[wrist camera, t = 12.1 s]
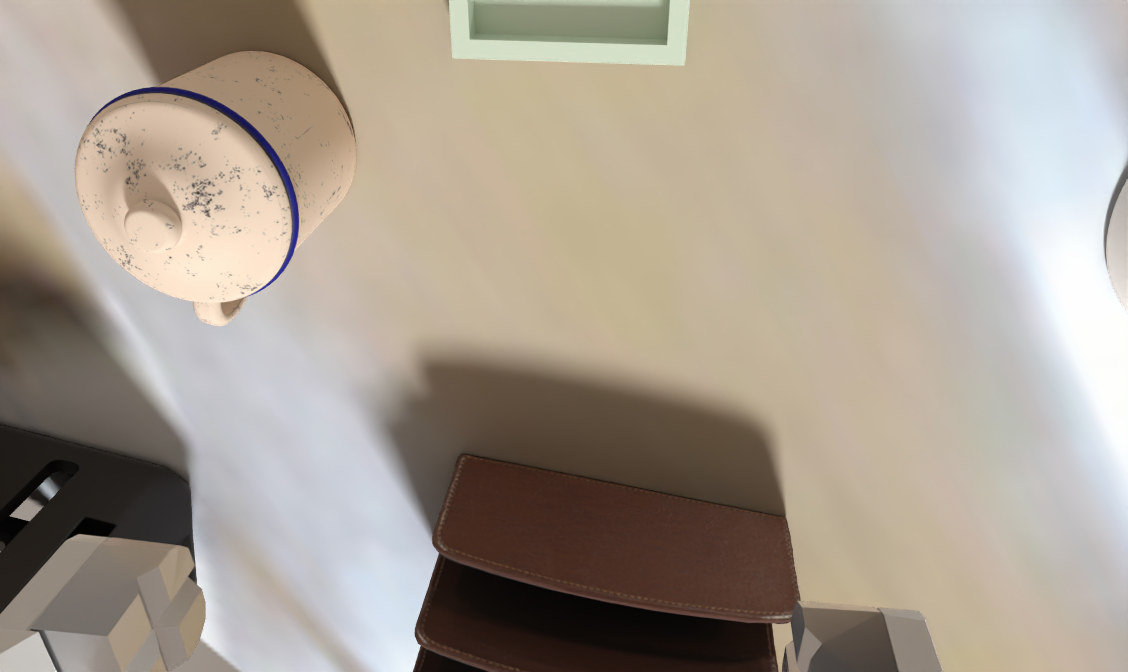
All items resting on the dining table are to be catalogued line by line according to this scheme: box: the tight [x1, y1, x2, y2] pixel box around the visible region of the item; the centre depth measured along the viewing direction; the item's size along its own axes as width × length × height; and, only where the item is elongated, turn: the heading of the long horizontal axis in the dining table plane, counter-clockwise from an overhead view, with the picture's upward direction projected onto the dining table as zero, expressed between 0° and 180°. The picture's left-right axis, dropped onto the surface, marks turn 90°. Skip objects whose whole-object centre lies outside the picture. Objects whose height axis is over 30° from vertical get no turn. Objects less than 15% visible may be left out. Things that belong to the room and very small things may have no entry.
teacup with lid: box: [75, 51, 356, 326], centre depth 37 cm, size 12×9×12 cm
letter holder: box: [413, 454, 801, 672], centre depth 46 cm, size 10×20×14 cm, turn 81°
